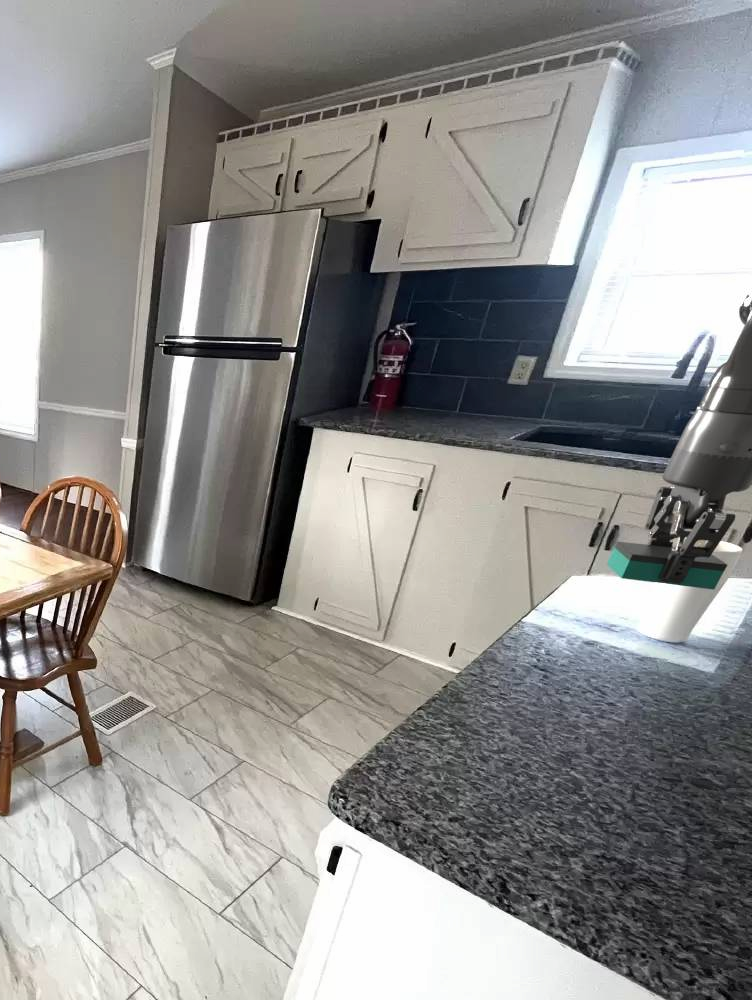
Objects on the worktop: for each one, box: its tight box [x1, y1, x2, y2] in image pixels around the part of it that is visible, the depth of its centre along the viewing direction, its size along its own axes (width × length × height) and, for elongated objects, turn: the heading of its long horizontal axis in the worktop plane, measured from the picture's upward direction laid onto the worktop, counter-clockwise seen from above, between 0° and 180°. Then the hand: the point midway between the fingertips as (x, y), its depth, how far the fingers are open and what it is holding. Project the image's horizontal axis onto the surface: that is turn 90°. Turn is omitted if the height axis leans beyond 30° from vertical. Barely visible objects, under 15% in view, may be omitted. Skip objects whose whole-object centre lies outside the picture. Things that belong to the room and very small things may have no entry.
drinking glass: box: [637, 538, 744, 644], centre depth 93 cm, size 7×7×15 cm
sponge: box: [606, 541, 727, 590], centre depth 85 cm, size 9×6×4 cm, turn 62°
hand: (659, 572), depth 85 cm, fingers closed on sponge, 5 cm apart
